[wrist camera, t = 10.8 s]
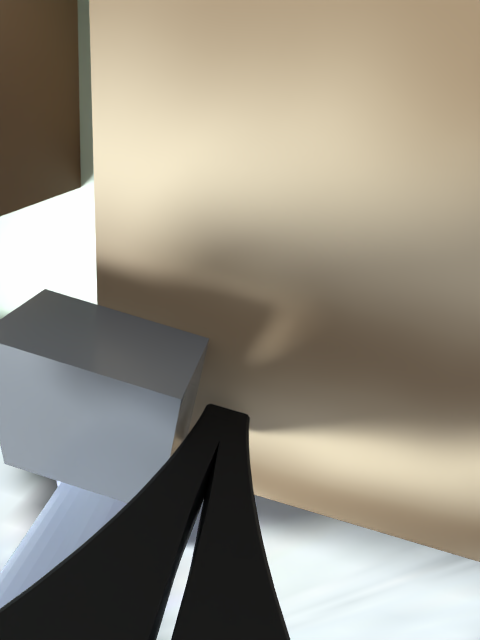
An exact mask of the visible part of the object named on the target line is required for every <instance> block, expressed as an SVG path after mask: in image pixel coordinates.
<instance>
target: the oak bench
mask: <svg viewBox="0 0 480 640" xmlns="http://www.w3.org/2000/svg"><path fill="white" fill-rule="evenodd" d="M89 14H90V52H91V90H92V127H93V165H94V202H95V240H96V278H97V305H100V306H104V307H107V308H110V309H114V310H117V311H120V312H123V313H127V314H130V315H133V316H137V317H140V318H143V319H147V320H150V321H153V322H157V323H160V324H163V325H166V326H170V327H173V328H176V329H180V330H183V331H186V332H190V333H193V334H196V335H199V336H203V337H206V338H209V342H208V347H207V351H206V355H205V360H204V364H203V369H202V373H201V377H200V382H199V386H198V391H197V395H196V399H195V404H194V408H193V413H192V417H191V421H190V426H189V430H188V434H189V432H190V431H191V430H192V428H193V427H194V425H195V424H196V422H197V421H198V419H199V418H200V416H201V414H202V413H203V411H204V409H205V407H206V405H208V404H214V405H217V406H221V407H224V408H228V409H231V410H235V411H238V412H242V413H245V414H248V416H249V417H250V423H249V452H250V465H251V474H252V483H253V491H254V495H257V496H260V497H264V498H267V499H270V500H274V501H277V502H281V503H284V504H287V505H291V506H294V507H297V508H301V509H304V510H307V511H311V512H314V513H317V514H321V515H324V516H328V517H331V518H334V519H338V520H341V521H344V522H348V523H351V524H354V525H358V526H361V527H364V528H368V529H371V530H374V531H378V532H381V533H385V534H388V535H391V536H395V537H398V538H401V539H405V540H408V541H411V542H415V543H418V544H421V545H425V546H428V547H432V548H435V549H438V550H442V551H445V552H448V553H452V554H455V555H458V556H462V557H465V558H468V559H472V560H475V561H479V562H480V0H89Z"/></svg>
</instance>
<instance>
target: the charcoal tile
mask: <svg viewBox="0 0 480 640" xmlns="http://www.w3.org/2000/svg"><path fill="white" fill-rule="evenodd" d="M208 342H209V338H206V337H203V336H199V335H196V334H193V333H190V332H186V331H183V330H180V329H176V328H173V327H170V326H166V325H163V324H160V323H157V322H153V321H150V320H147V319H143V318H140V317H137V316H133V315H130V314H127V313H123V312H120V311H117V310H114V309H110V308H107V307H104V306H100V305H97V304H94V303H90V302H87V301H84V300H81V299H77V298H74V297H71V296H67V295H64V294H61V293H57V292H54V291H51V290H47V289H44V290H43V291H41V292H40V293H38V294H37V295H35V296H34V297H32V298H31V299H29V300H28V301H26V302H25V303H23V304H22V305H21V306H19V307H18V308H16V309H15V310H13V311H12V312H10V313H9V314H7V315H6V316H4V317H3V318H2V319H0V445H1V450H2V454H3V459H4V463H5V464H7V465H10V466H13V467H16V468H20V469H23V470H26V471H29V472H32V473H35V474H38V475H41V476H44V477H48V478H51V479H54V480H57V481H60V482H63V483H66V484H69V485H72V486H76V487H79V488H82V489H85V490H88V491H91V492H94V493H97V494H100V495H104V496H107V497H110V498H113V499H116V500H119V501H122V502H125V503H128V502H129V501H130V500H131V499H132V498H133V497H134V496H135V495H136V494H137V493H138V492H139V491H140V490H141V489H142V488H143V487H144V486H145V485H146V484H147V483H148V482H149V481H150V480H151V478H152V477H153V476H154V475H155V474H156V473H157V472H158V471H159V470H160V468H161V467H162V466H163V465H164V464H165V463H166V462H167V460H168V459H169V458H170V457H171V456H172V454H173V453H174V452H175V451H176V449H177V448H178V447H179V446H180V444H181V443H182V442H183V441H184V439H185V438H186V437H187V435H188V430H189V426H190V421H191V417H192V413H193V408H194V404H195V399H196V395H197V391H198V386H199V382H200V377H201V373H202V369H203V364H204V360H205V355H206V351H207V347H208Z"/></svg>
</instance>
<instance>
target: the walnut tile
mask: <svg viewBox="0 0 480 640" xmlns="http://www.w3.org/2000/svg"><path fill="white" fill-rule="evenodd" d="M78 188H81V164H80V109H79V55H78V1H77V0H0V216H3V215H6V214H9V213H12V212H14V211H17V210H20V209H23V208H25V207H28V206H31V205H34V204H36V203H39V202H42V201H45V200H47V199H50V198H53V197H56V196H58V195H61V194H64V193H67V192H69V191H72V190H75V189H78Z"/></svg>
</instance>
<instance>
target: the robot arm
mask: <svg viewBox="0 0 480 640" xmlns="http://www.w3.org/2000/svg"><path fill="white" fill-rule="evenodd" d="M249 423H250V417H249V416H248V414H245V413H242V412H238V411H235V410H231V409H228V408H224V407H221V406H217V405H214V404H208V405H206V407H205V409H204V411H203V413H202V414H201V416H200V418H199V419H198V421H197V422H196V424H195V425H194V427H193V428H192V430H191V431H190V432H189V434H188V435H187V437H186V438H185V439H184V441H183V442H182V443H181V444H180V446H179V447H178V448H177V449H176V451H175V452H174V453H173V454H172V456H171V457H170V458H169V459H168V460H167V462H166V463H165V464H164V465H163V466H162V467H161V468H160V470H159V471H158V472H157V473H156V474H155V475H154V476H153V477H152V478H151V480H150V481H149V482H148V483H147V484H146V485H145V486H144V487H143V488H142V489H141V490H140V491H139V492H138V493H137V494H136V495H135V496H134V497H133V498H132V499H131V500H130V501H129V502H128V503H125V502H122V501H119V500H116V499H113V498H110V497H107V496H104V495H100V494H97V493H94V492H91V491H88V490H85V489H82V488H79V487H76V486H72V485H69V484H66V483H63V482H60V481H57V485H58V488H57V489H56V491H55V492H54V494H53V495H52V497H51V498H50V500H49V501H48V503H47V504H46V506H45V507H44V508H43V510H42V511H41V513H40V514H39V516H38V517H37V519H36V520H35V522H34V523H33V525H32V526H31V528H30V529H29V531H28V532H27V534H26V535H25V537H24V538H23V540H22V541H21V543H20V544H19V546H18V547H17V548H16V550H15V551H14V553H13V554H12V556H11V557H10V559H9V560H8V562H7V563H6V565H5V566H4V568H3V569H2V571H1V572H0V640H156V639H157V635H158V632H159V628H160V625H161V622H162V618H163V615H164V611H165V608H166V605H167V601H168V598H169V595H170V591H171V588H172V585H173V581H174V578H175V575H176V572H177V569H178V566H179V563H180V560H181V558H182V555H183V552H184V550H185V547H186V544H187V542H188V539H189V536H190V534H191V531H192V529H193V526H194V523H195V521H196V518H197V515H198V513H199V510H200V508H201V505H202V502H203V507H202V512H201V517H200V522H199V527H198V532H197V537H196V542H195V547H194V552H193V557H192V563H191V567H190V571H189V576H188V580H187V584H186V587H185V591H184V595H183V598H182V602H181V606H180V609H179V613H178V617H177V620H176V624H175V628H174V631H173V635H172V639H171V640H290V637H289V634H288V631H287V628H286V624H285V621H284V618H283V615H282V611H281V608H280V605H279V602H278V598H277V595H276V592H275V588H274V584H273V580H272V577H271V573H270V569H269V565H268V561H267V557H266V553H265V549H264V545H263V540H262V535H261V531H260V526H259V520H258V515H257V509H256V504H255V497H254V491H253V483H252V474H251V465H250V452H249ZM203 500H204V501H203Z"/></svg>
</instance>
